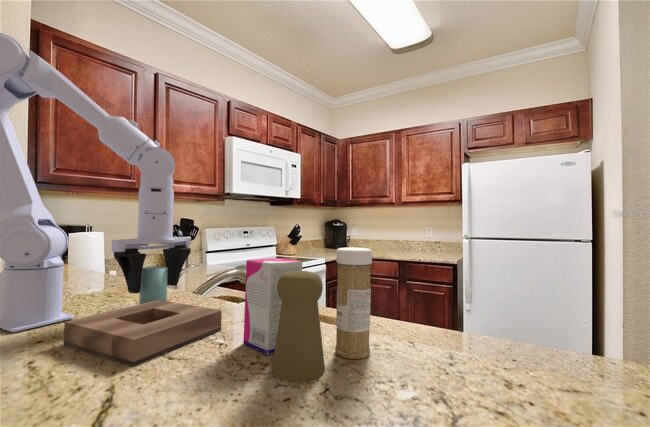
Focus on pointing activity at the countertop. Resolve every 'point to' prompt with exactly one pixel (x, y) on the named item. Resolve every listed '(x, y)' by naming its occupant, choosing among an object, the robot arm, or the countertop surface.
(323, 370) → the brown tall rounded piece
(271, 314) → the supplement box
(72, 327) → the socket block
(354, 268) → the sprinkles bottle
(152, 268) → the peg
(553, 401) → the countertop surface
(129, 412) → the countertop surface
